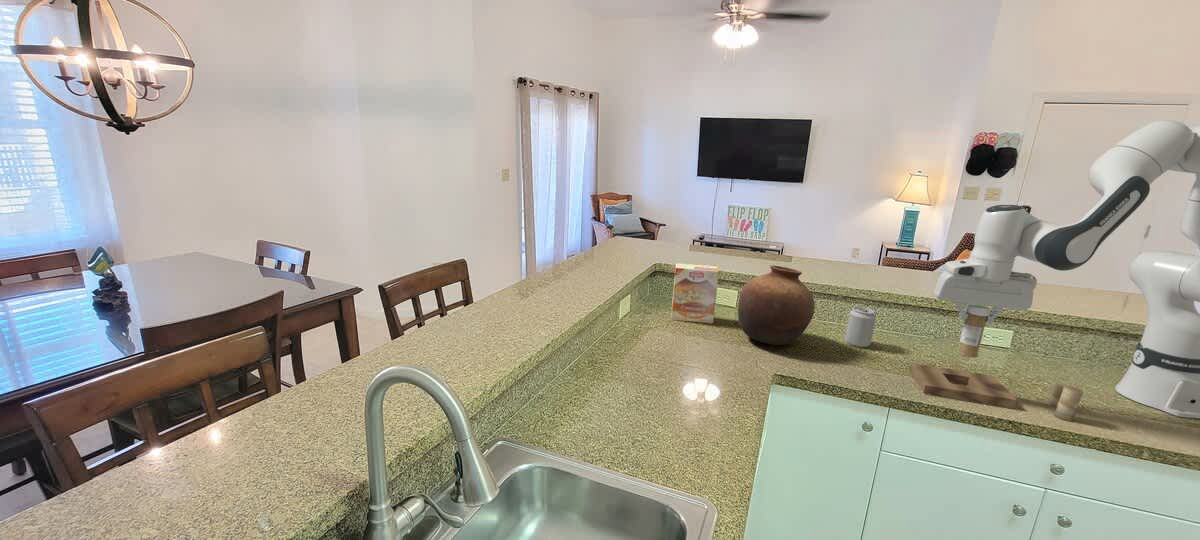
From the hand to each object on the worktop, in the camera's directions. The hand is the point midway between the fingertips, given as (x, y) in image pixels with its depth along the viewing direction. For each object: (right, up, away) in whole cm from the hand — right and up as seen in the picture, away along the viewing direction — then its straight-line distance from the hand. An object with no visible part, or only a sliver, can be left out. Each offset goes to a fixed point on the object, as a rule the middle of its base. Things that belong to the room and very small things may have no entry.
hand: (975, 320), depth 125 cm
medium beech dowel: (+16, -23, -7) cm, 29 cm away
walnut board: (-1, -19, +5) cm, 20 cm away
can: (-13, -11, +33) cm, 37 cm away
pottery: (-42, -10, +32) cm, 54 cm away
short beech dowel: (+20, -22, -1) cm, 30 cm away
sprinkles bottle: (0, -9, +2) cm, 10 cm away
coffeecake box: (-64, -5, +49) cm, 81 cm away
